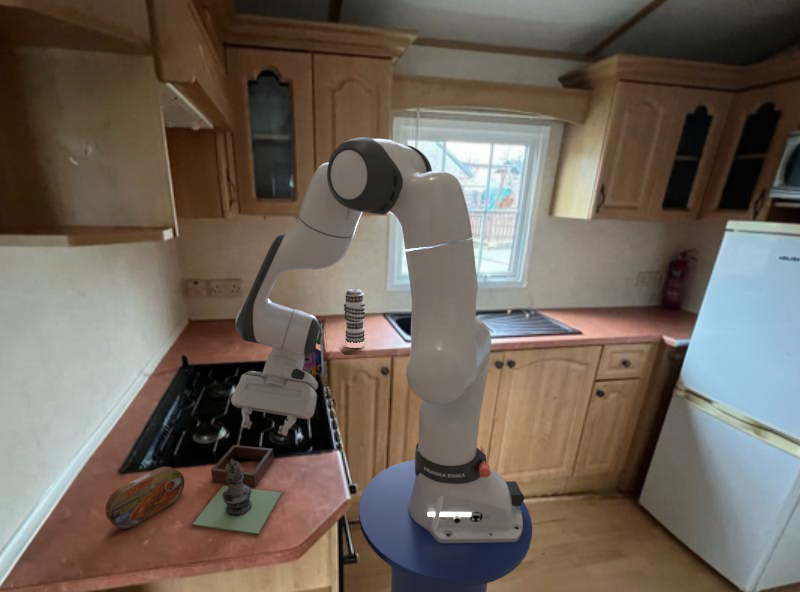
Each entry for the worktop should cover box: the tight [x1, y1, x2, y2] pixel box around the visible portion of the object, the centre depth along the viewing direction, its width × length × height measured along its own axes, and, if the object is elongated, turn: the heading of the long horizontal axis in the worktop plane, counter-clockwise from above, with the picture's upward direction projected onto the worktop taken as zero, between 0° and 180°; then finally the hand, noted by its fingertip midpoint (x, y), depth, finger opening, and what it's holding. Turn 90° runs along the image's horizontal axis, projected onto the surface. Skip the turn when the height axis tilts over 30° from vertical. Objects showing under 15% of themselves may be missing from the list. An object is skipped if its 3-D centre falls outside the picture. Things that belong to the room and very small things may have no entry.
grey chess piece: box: [222, 459, 252, 516], centre depth 84 cm, size 6×6×12 cm
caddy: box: [210, 444, 275, 488], centre depth 98 cm, size 11×11×3 cm
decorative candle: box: [343, 288, 366, 343], centre depth 178 cm, size 9×9×25 cm
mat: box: [192, 485, 282, 535], centre depth 86 cm, size 14×12×1 cm
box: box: [303, 315, 330, 389], centre depth 143 cm, size 25×6×24 cm, turn 73°
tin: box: [104, 466, 185, 530], centre depth 84 cm, size 15×3×8 cm, turn 143°
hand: (263, 431), depth 92 cm, fingers open, 8 cm apart
